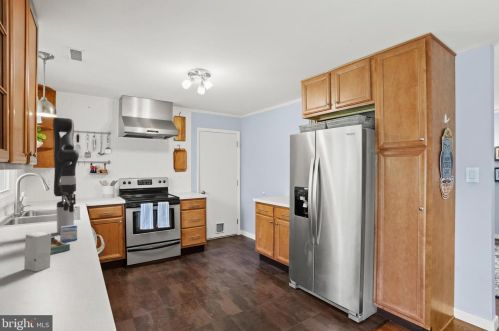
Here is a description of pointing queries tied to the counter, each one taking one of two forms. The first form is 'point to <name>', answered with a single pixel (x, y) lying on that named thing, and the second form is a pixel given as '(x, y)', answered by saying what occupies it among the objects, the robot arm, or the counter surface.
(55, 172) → the robot arm
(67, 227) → the medicine box
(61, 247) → the wooden tray
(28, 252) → the skincare box
